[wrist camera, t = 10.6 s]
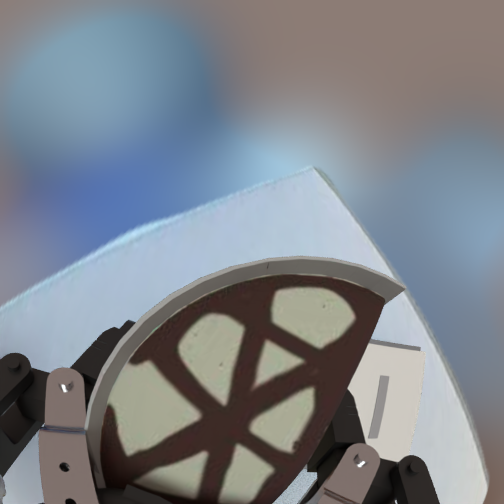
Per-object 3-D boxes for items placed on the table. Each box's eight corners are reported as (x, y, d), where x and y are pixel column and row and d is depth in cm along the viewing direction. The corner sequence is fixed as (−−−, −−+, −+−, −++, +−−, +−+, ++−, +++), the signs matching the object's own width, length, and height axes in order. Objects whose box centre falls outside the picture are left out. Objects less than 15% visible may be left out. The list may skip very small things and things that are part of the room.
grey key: (303, 457, 19) (314, 466, 16) (329, 343, 24) (342, 338, 22) (390, 457, 19) (407, 461, 16) (408, 356, 24) (426, 351, 21)
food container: (229, 284, 17) (244, 169, 8) (311, 337, 16) (410, 273, 7) (115, 435, 12) (9, 471, 3) (201, 494, 11) (188, 596, 2)
